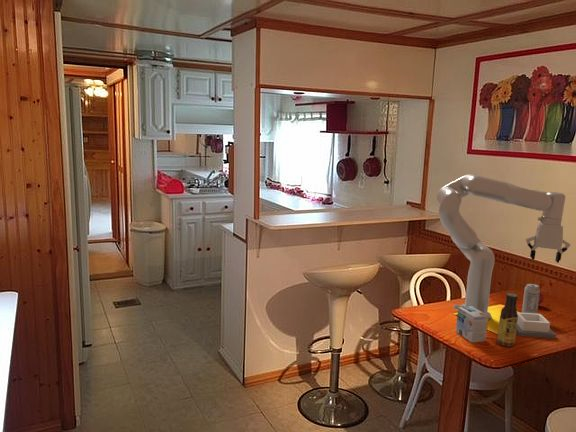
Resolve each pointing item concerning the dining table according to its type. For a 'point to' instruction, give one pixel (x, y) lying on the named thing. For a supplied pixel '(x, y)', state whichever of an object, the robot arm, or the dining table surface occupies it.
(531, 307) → the energy drink can
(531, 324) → the board
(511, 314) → the sauce bottle
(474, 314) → the light bulb box
